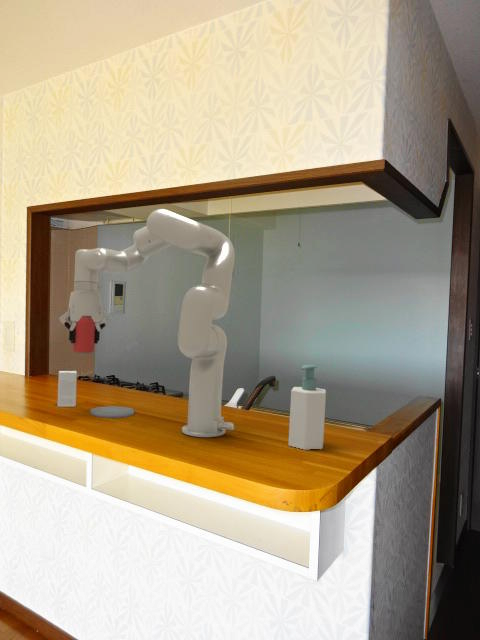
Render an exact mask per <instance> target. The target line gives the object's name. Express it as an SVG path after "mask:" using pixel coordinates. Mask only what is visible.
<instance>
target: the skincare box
mask: <svg viewBox="0 0 480 640" xmlns="http://www.w3.org/2000/svg"><path fill="white" fill-rule="evenodd" d="M77 374H78V372H77V370H71V371H70V370H59V371H58V381H57V382H58V383H57V408H59V407H60V408H62V407H63V408H64V407H65V408H66V407H74V408H75V407H76V406H77V405H76V404H77V403H76V401H77Z"/></svg>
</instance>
